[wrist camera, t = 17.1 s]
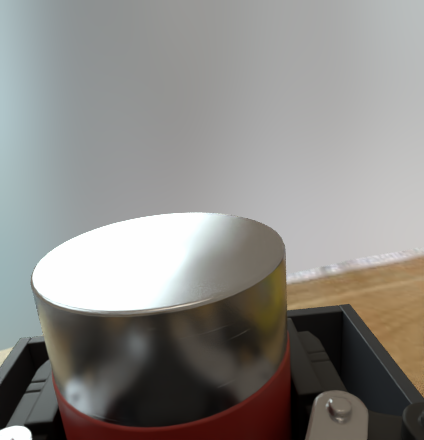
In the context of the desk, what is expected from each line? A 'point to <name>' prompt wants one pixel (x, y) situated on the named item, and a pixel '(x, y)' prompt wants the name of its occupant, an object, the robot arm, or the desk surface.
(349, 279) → the desk surface
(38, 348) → the tote
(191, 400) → the tin
